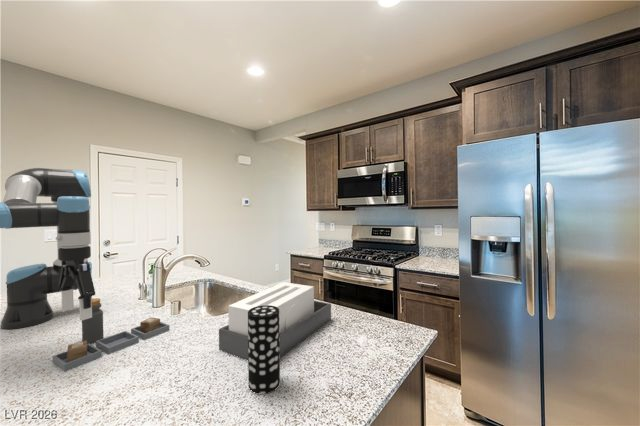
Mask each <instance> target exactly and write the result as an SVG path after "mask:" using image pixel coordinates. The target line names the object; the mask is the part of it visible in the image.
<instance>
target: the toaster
mask: <svg viewBox="0 0 640 426" xmlns="http://www.w3.org/2000/svg"><path fill="white" fill-rule="evenodd" d="M314 301H315V286H313V285H306V284H299V283H291V282H286V281H285V282H284V281H282V282H280V283H277V284H276V285H274V286H271V287H269V288H267V289H264V290H262V291H259V292H258V293H257V292H256V293H254V294H252V295H250V296H248V297H245V298H243V299H240V300H238V301H236V302H234V303H231V304H229V305H228V307H227V308H228V309H227V310H228V325H229V331H232V332H235V333H238V334H241V335H244V336H247V337H248V311H249V310H250V309H251V308H254V307H257V306H264V305H270V306H275V307H278V308H279V332H280V334H281V333H282V332H284V331H286V330H287V329H289V328H290V327H292V326H294V325H295V324H297V323H298V322H300V321H302V320H303V319H305V318H306V317H308V316H310V315H311V314H313V313H314Z"/></svg>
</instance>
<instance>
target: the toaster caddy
mask: <svg viewBox="0 0 640 426" xmlns="http://www.w3.org/2000/svg"><path fill="white" fill-rule="evenodd" d="M331 321H332V303H330V302H329V303H328V302H323V301H317V300H314V313H313V314H311V315H310V316H308V317H306V318H305V319H303V320H302V321H300V322H298V323H297V324H295V325H294V326H292V327H290V328H289V329H287V330H286V331H284V332H282V333H281V334H280V359H282V358H283V357H284V356H286V354H288V353H289V352H290V351H292V350H293V349H295V348H296V347H297V346H298V345H301V343H303V342H304V341H305V340H307V339H308V338H309V337H310V336H312V335H313V334H315V333H316V332H318V331H319V330H320V329H322V328H323V327H324V326H325V325H327V324H328V323H330V322H331ZM218 350H219V351H221V350H222V352H224V351H225V352H224V353H226V352H227V353H226V354H229V353H230V354H229V355H231V354H232V355H231V356H234V355H235V357H237V356H238V357H237V358H239V357H240V358H239V359H242V358H243V359H242V360H244V359H246V360H245V361H247V360H248V337H247V336H244V335H241V334H238V333H235V332H232V331H229V324H226V325H225V326H223V327H221V328H219V329H218Z"/></svg>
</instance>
